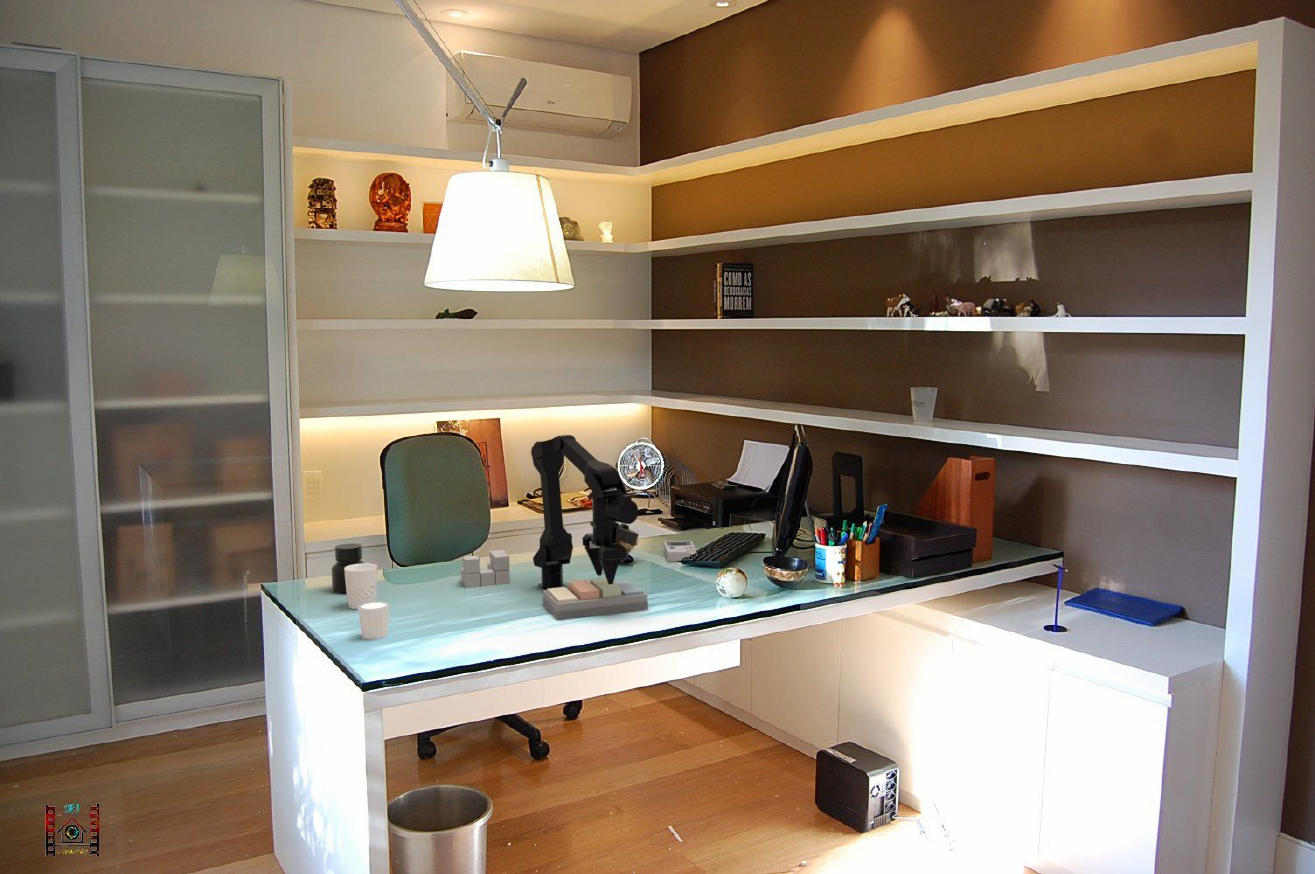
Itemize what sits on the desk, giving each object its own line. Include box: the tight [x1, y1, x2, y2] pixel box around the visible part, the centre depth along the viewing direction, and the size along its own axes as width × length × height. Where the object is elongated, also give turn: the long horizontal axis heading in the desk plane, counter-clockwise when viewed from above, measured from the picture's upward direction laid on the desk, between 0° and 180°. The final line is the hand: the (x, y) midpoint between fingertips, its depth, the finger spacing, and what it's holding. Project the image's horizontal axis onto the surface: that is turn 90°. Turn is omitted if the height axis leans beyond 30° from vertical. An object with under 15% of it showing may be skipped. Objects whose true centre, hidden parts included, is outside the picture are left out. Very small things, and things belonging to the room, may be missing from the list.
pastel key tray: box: [542, 587, 649, 621], centre depth 238 cm, size 14×23×4 cm, turn 111°
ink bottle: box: [331, 543, 365, 595], centre depth 255 cm, size 10×9×12 cm
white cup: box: [344, 562, 378, 610], centre depth 240 cm, size 8×8×10 cm
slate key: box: [614, 580, 644, 596], centre depth 241 cm, size 11×5×2 cm, turn 21°
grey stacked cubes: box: [460, 549, 511, 589], centre depth 265 cm, size 12×12×8 cm
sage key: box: [589, 577, 621, 598], centre depth 239 cm, size 11×5×2 cm, turn 21°
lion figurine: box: [620, 538, 640, 555], centre depth 289 cm, size 15×5×9 cm, turn 35°
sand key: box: [547, 587, 577, 603], centre depth 235 cm, size 11×5×2 cm, turn 21°
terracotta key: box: [568, 579, 599, 601], centre depth 237 cm, size 11×5×2 cm, turn 21°
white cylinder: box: [357, 601, 390, 640], centre depth 217 cm, size 7×7×7 cm
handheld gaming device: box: [663, 540, 697, 563], centre depth 292 cm, size 9×15×4 cm, turn 4°
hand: (604, 579), depth 239 cm, fingers open, 9 cm apart
